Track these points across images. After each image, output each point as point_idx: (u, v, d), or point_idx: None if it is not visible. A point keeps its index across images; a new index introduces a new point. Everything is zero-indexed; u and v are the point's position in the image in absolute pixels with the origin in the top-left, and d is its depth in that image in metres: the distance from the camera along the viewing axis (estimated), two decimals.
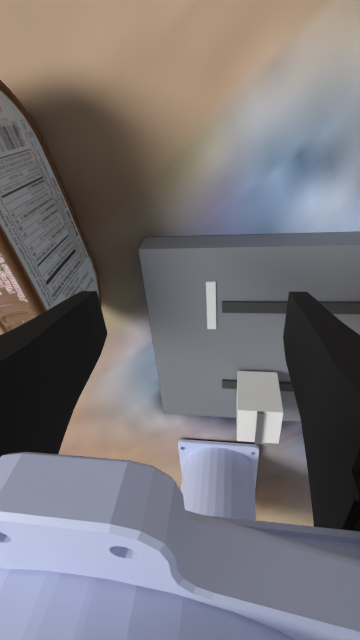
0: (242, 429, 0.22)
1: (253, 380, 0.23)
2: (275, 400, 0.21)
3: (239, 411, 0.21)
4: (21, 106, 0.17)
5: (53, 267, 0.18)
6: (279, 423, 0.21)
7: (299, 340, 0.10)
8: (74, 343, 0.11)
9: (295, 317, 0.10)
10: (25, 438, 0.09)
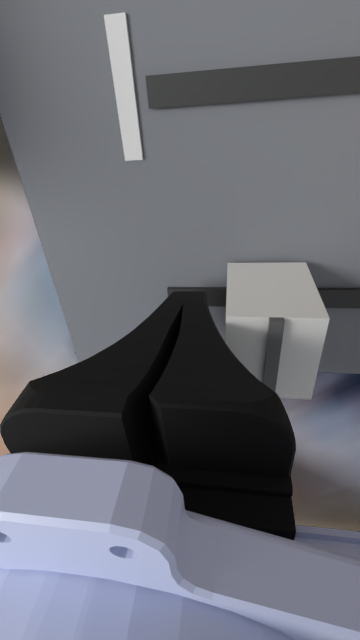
0: None
1: (259, 273, 0.11)
2: (308, 299, 0.10)
3: (229, 320, 0.09)
4: None
5: None
6: (317, 348, 0.10)
7: None
8: None
9: None
10: (158, 448, 0.08)
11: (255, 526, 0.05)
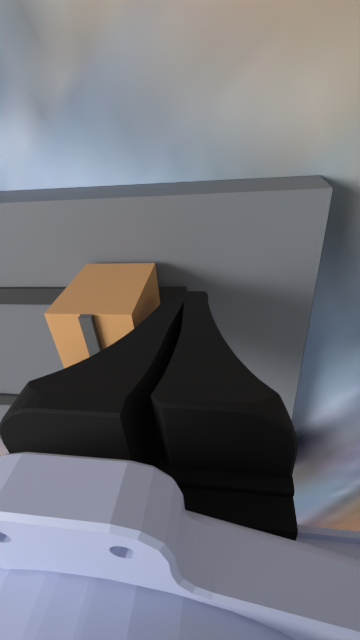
0: None
1: None
2: None
3: None
4: None
5: None
6: None
7: None
8: None
9: None
10: (157, 448, 0.08)
11: (257, 526, 0.05)
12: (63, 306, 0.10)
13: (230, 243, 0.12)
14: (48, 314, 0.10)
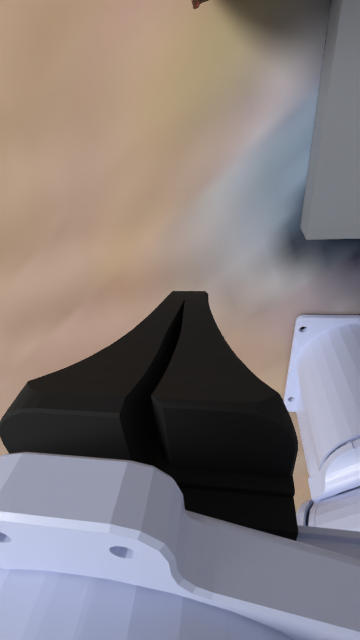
0: None
1: None
2: None
3: None
4: None
5: None
6: None
7: None
8: None
9: None
10: (157, 448, 0.08)
11: (257, 526, 0.05)
12: None
13: None
14: None
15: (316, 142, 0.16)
